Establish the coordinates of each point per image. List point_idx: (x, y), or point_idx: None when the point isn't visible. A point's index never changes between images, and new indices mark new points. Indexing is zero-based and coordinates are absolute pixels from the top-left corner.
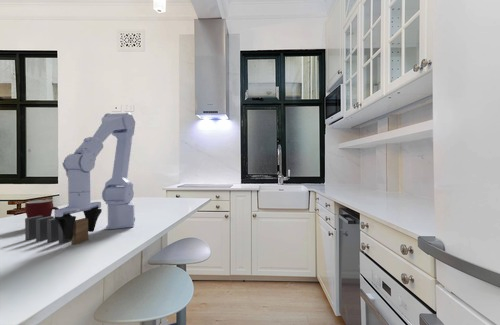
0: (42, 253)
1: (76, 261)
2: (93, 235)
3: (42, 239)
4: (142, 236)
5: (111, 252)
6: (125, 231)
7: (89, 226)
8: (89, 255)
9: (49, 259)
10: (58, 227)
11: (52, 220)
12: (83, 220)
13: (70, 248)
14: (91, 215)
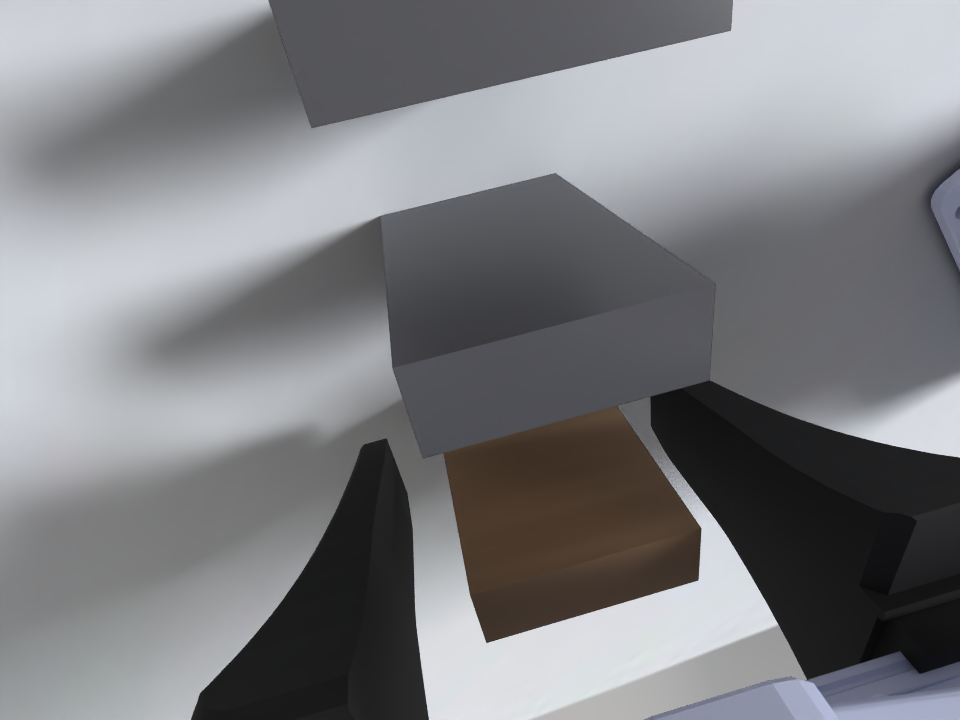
0: (140, 433)
1: None
2: None
3: None
4: (743, 600)
5: (449, 700)
6: (864, 419)
7: (684, 434)
8: None
9: (152, 594)
10: (387, 298)
11: (358, 112)
12: (611, 591)
13: None
14: (789, 576)
